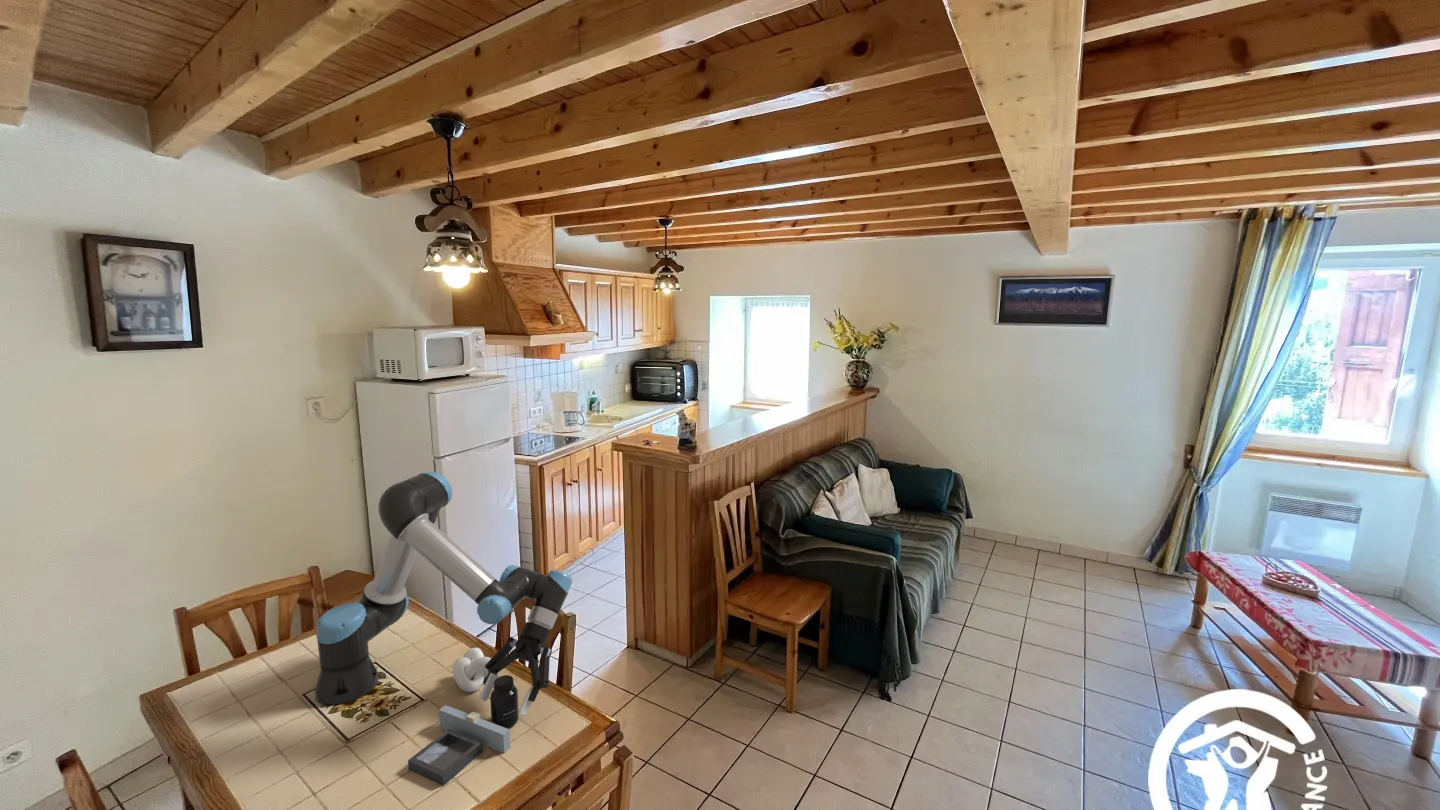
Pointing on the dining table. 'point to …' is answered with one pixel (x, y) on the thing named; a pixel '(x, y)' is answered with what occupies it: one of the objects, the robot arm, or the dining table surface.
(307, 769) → the dining table surface
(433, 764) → the keeper frame
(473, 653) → the white trefoil knot
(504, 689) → the supplement bottle
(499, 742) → the door edge plank
